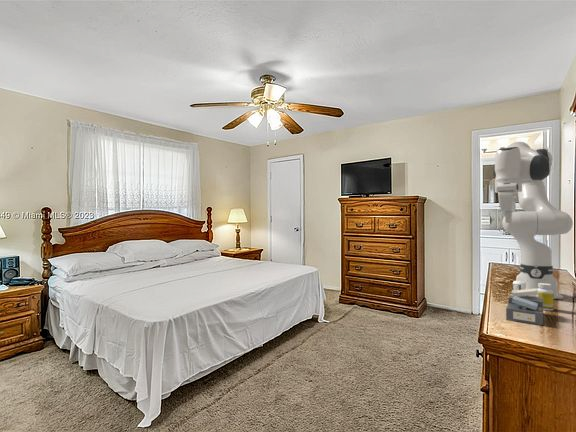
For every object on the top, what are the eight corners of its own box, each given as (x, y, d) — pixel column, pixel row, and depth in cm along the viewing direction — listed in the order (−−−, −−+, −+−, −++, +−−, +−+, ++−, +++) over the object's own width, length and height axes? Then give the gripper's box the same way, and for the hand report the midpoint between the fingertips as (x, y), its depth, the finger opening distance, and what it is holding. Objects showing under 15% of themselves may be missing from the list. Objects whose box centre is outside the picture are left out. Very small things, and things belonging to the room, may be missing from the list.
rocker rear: (515, 294, 124) (514, 290, 124) (537, 292, 119) (536, 288, 120) (514, 296, 119) (513, 292, 119) (537, 294, 115) (536, 290, 115)
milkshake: (529, 304, 132) (529, 280, 132) (513, 302, 135) (513, 279, 135) (527, 302, 136) (527, 278, 136) (512, 300, 139) (512, 277, 139)
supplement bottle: (557, 311, 122) (556, 285, 122) (540, 310, 123) (540, 285, 124) (548, 307, 128) (548, 282, 128) (533, 306, 129) (532, 282, 129)
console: (510, 308, 126) (510, 291, 126) (543, 313, 120) (542, 294, 120) (506, 319, 112) (506, 300, 112) (542, 325, 105) (542, 304, 105)
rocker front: (512, 299, 117) (513, 295, 117) (536, 307, 112) (537, 303, 112) (511, 302, 112) (512, 298, 112) (536, 310, 108) (537, 306, 108)
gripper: (501, 190, 137) (501, 222, 137) (495, 186, 121) (495, 223, 121) (519, 189, 133) (519, 222, 133) (516, 185, 117) (516, 223, 117)
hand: (508, 222), depth 127 cm, fingers closed
